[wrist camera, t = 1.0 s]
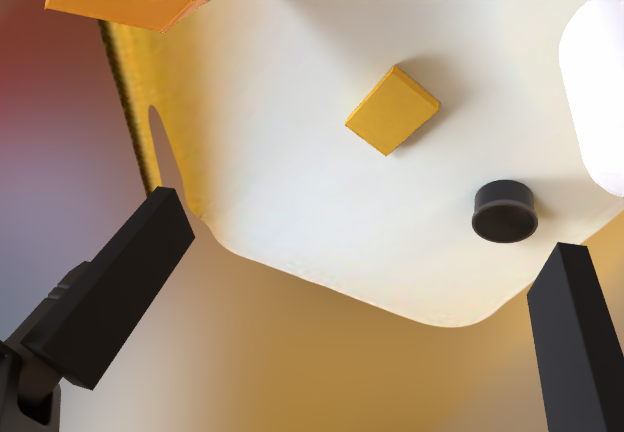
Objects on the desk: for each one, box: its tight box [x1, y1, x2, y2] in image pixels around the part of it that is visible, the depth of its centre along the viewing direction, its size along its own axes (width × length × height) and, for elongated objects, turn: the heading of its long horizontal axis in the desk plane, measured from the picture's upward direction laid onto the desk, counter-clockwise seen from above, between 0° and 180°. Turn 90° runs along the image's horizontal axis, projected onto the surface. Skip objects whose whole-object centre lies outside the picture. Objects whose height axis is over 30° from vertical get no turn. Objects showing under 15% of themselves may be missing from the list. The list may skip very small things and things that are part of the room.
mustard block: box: [345, 65, 440, 156], centre depth 38 cm, size 8×6×2 cm
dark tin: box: [472, 180, 538, 243], centre depth 41 cm, size 6×6×4 cm
